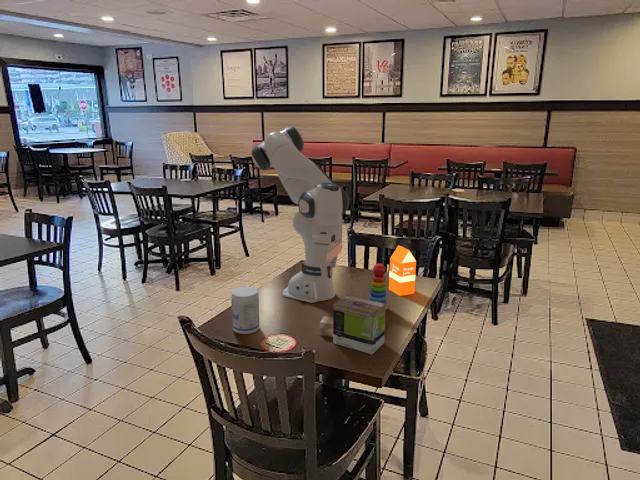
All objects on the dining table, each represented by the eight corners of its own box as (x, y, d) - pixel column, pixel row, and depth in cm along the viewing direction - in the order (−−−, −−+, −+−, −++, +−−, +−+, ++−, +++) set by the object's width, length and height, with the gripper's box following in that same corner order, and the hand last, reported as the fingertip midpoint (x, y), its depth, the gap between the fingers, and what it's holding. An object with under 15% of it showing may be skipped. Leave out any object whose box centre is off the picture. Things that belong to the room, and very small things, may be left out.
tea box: (385, 343, 155) (386, 302, 151) (372, 355, 147) (373, 313, 143) (346, 332, 163) (347, 293, 159) (331, 343, 154) (332, 303, 150)
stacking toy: (388, 313, 178) (390, 267, 173) (367, 312, 178) (369, 267, 173) (386, 305, 185) (388, 261, 180) (366, 304, 186) (368, 260, 181)
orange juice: (399, 296, 195) (401, 251, 189) (388, 289, 202) (390, 245, 197) (414, 293, 198) (417, 249, 192) (403, 286, 205) (405, 243, 200)
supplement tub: (227, 328, 165) (225, 290, 161) (249, 320, 171) (247, 284, 167) (242, 338, 158) (241, 298, 154) (265, 329, 164) (263, 291, 161)
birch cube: (319, 335, 161) (319, 322, 159) (324, 328, 165) (324, 316, 164) (333, 337, 159) (333, 324, 158) (337, 331, 164) (337, 318, 162)
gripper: (329, 224, 163) (329, 261, 166) (309, 238, 144) (310, 280, 148) (346, 225, 161) (346, 263, 164) (328, 240, 142) (328, 282, 146)
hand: (329, 271), depth 156 cm, fingers open, 8 cm apart
